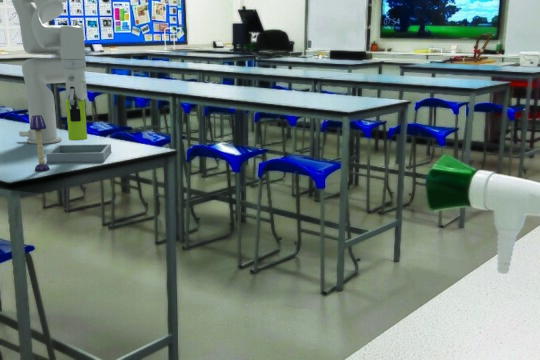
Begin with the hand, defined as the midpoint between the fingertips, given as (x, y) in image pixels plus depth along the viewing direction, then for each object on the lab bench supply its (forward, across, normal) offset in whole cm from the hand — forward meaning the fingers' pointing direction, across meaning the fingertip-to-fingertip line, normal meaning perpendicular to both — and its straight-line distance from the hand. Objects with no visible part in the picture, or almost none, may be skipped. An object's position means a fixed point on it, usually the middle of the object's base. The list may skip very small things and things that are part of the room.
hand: (77, 119), depth 200 cm
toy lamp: (+13, -18, +8) cm, 24 cm away
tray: (+13, 0, 0) cm, 13 cm away
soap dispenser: (+7, 0, 0) cm, 7 cm away
